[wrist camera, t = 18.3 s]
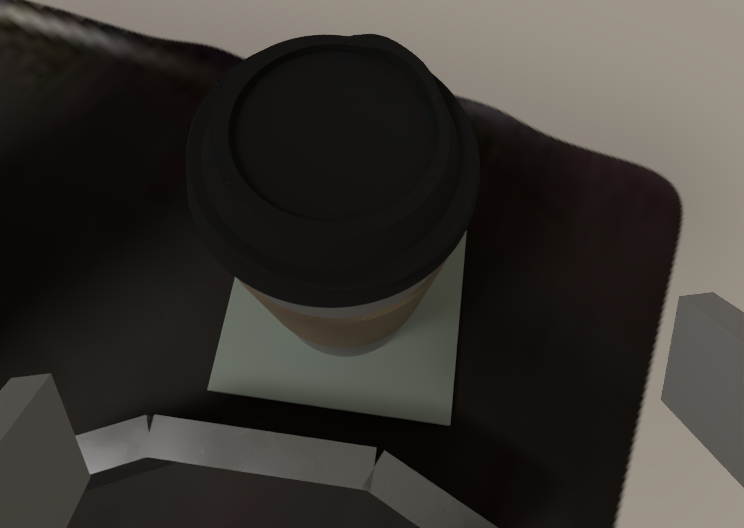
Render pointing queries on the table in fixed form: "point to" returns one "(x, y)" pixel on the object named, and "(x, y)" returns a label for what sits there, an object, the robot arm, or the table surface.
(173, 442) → the bent rail
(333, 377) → the mat
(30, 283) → the table surface
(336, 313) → the coffee cup
